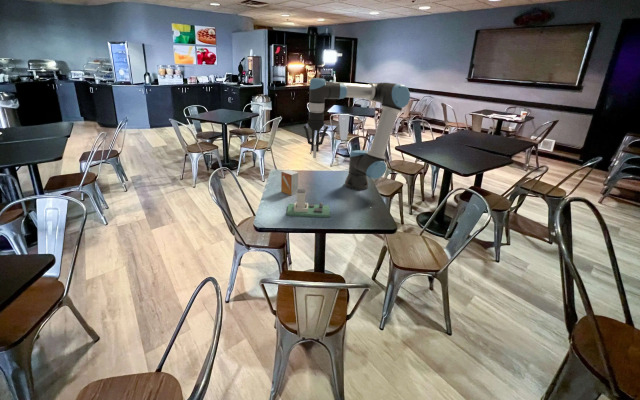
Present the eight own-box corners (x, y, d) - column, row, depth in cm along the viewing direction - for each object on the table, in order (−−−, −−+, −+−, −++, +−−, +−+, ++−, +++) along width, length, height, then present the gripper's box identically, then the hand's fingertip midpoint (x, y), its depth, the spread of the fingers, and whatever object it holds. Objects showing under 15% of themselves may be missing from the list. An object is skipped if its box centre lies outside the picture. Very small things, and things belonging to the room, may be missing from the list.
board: (329, 207, 175) (329, 201, 174) (329, 217, 164) (330, 210, 163) (288, 205, 174) (288, 199, 173) (286, 215, 163) (286, 209, 162)
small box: (281, 192, 192) (281, 171, 186) (288, 189, 196) (288, 169, 191) (291, 195, 187) (291, 174, 182) (298, 192, 192) (298, 172, 187)
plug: (304, 207, 171) (305, 189, 166) (304, 210, 167) (305, 192, 163) (297, 207, 170) (297, 189, 166) (296, 210, 167) (297, 191, 163)
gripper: (329, 111, 163) (326, 155, 172) (303, 109, 163) (302, 154, 172) (329, 113, 156) (327, 159, 165) (303, 112, 156) (301, 158, 165)
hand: (314, 157), depth 169 cm, fingers closed
